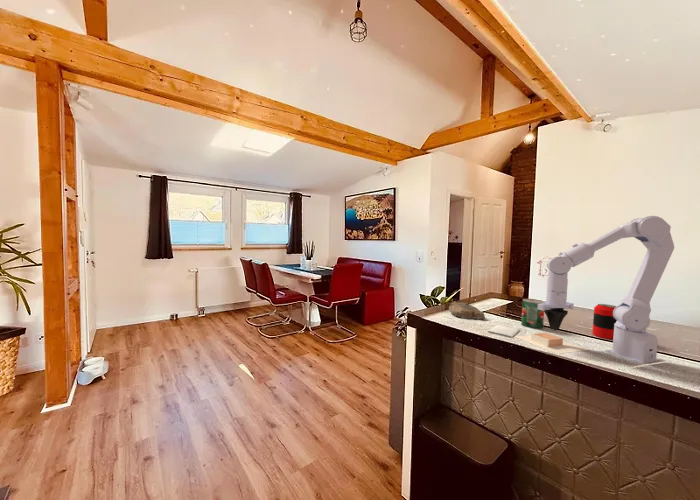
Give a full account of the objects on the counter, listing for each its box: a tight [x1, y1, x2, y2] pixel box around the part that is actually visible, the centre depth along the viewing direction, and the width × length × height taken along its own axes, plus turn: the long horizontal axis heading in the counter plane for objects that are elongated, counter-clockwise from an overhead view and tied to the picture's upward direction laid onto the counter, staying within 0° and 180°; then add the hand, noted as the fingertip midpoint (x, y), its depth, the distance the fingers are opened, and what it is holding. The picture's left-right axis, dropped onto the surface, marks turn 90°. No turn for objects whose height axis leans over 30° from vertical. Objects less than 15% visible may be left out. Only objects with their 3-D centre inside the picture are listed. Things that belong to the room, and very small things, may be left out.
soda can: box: [592, 303, 618, 341], centre depth 110 cm, size 8×8×12 cm
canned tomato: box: [520, 298, 545, 330], centre depth 120 cm, size 8×8×11 cm
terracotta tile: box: [530, 332, 564, 347], centre depth 99 cm, size 6×2×7 cm
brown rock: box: [448, 301, 485, 320], centre depth 138 cm, size 14×5×20 cm
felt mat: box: [514, 334, 589, 355], centre depth 100 cm, size 16×14×1 cm
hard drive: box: [487, 324, 521, 339], centre depth 111 cm, size 2×8×12 cm
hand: (554, 329), depth 100 cm, fingers closed
